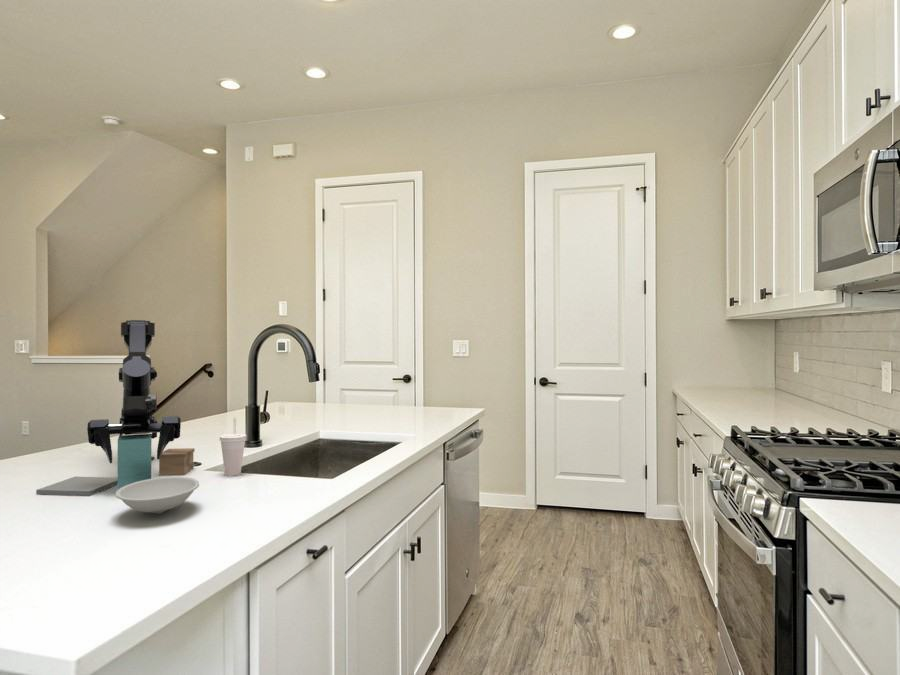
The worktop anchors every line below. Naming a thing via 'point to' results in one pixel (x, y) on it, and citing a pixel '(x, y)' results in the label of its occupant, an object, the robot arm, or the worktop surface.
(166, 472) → the walnut box
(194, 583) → the worktop surface
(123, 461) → the tall teal box
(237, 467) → the smoothie
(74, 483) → the plate
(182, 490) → the dish
